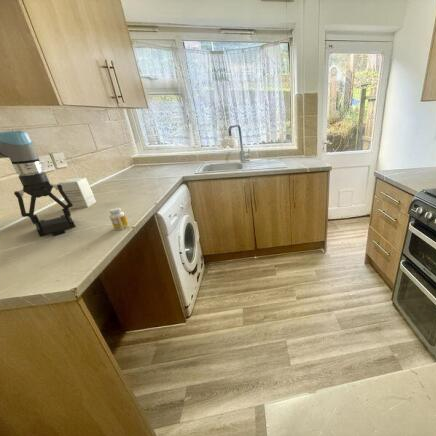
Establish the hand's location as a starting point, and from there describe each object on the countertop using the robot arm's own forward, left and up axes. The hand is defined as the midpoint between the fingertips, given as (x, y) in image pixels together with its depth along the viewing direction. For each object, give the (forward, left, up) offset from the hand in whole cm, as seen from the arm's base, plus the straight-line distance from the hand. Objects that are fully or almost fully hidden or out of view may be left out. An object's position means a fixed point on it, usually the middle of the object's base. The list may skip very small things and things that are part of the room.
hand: (56, 226), depth 103 cm
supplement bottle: (+14, +20, -4) cm, 25 cm away
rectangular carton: (-39, +14, -4) cm, 42 cm away
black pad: (0, 0, 0) cm, 0 cm away
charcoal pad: (-9, 0, -4) cm, 10 cm away
